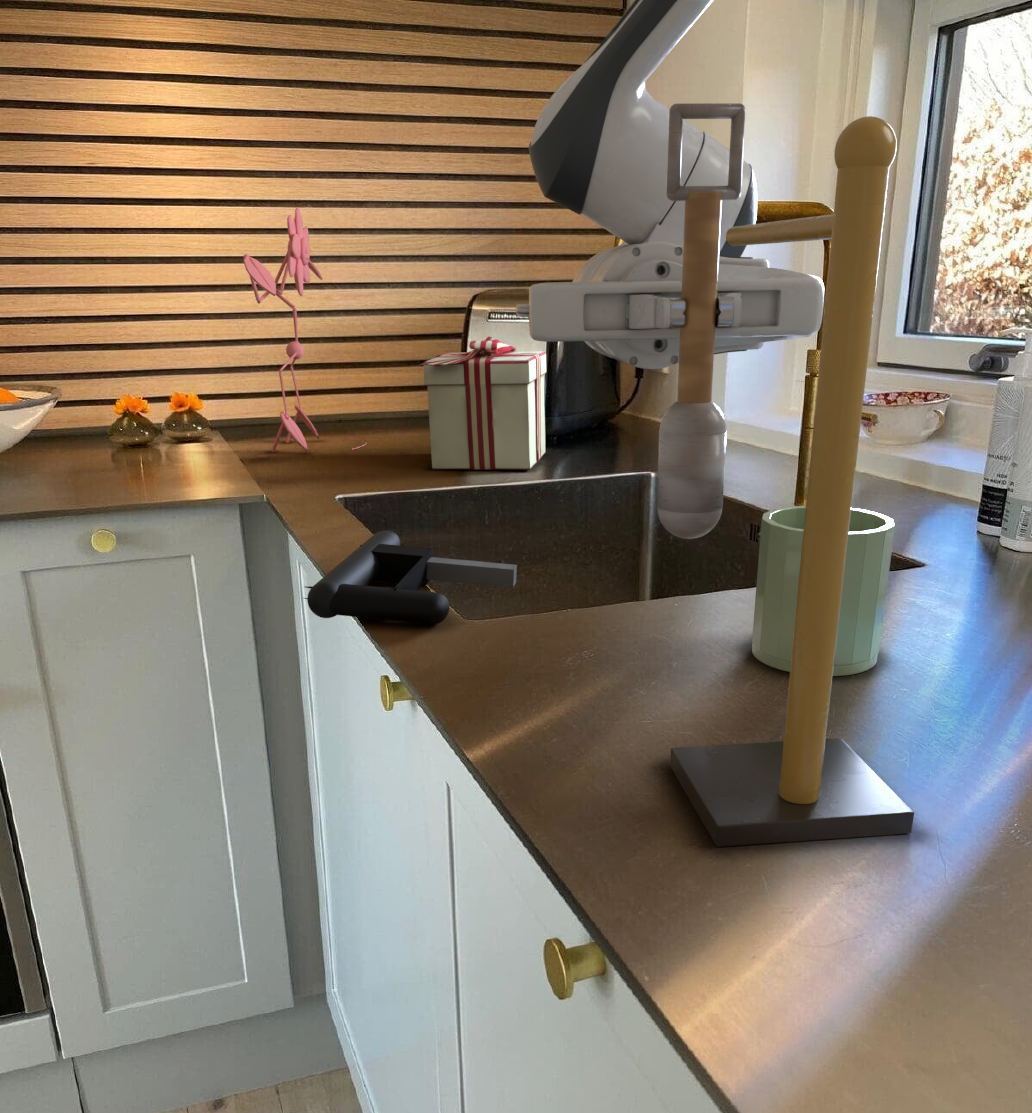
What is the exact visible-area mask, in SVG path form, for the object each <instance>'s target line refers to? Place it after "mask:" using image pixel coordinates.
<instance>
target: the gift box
mask: <svg viewBox="0 0 1032 1113" xmlns="http://www.w3.org/2000/svg"><path fill="white" fill-rule="evenodd" d="M469 349H470V350H469V351H467V352H446V353H443V354H438V355H435V357H433V358H431V359H429V360H426V361H424V362H422V363H421V364H419V366H420V367H423V383H424V385H425V386H426V387H427V401H428V402H427V404H428V422H429V435H430V436H429V437H430V438H429V439H430V440H429V441H430V453H431V454H430V456H431V469H432V470H480V471H481V470H483V471H484V470H485V471H487V470H489V471H490V470H491V471H492V470H512V471H515V470H516V471H522V470H526V471H529V470H531V469H532V468H533V467H534V466H535V465H536V464H538V463H539V461H540V460H541V458H542V457H543V456H544V455H545V454H546V453H547V452H546V411H545V374H547V371H548V370H547V353H546V351H544V350H531V351H530V350H527V351H526V350H525V351H516V347H514V346H512V345H510V344H508V343H505V342H503V341H501V340H499V339H497V338H495V337H492V336H487V337H486V338H485V339H484V340H483V339H482V340H472V341H470V342H469Z"/></svg>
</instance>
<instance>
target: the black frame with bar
mask: <svg viewBox="0 0 1032 1113" xmlns="http://www.w3.org/2000/svg"><path fill="white" fill-rule="evenodd" d="M517 572H518V564H511V563H499V562H490V561H478V560H467V559H458V558H457V559H456V558H446V557H435V556H434V549H433V548H432V547H422V546H421V547H420V546H410V545H409V546H408V545H402V544H401V539H400V537H399V536H398V535H397V533H396V532H394V531H392V530H389V529H388V530H387V529H386V530H381V531H378V532H376V533H373V534H372V536H370V537H369V538H368V539H367V540H365V541H364V542H363V543H362V544H359V546H358V547H357V548H356V549H355V550H354V551H353V552H351V553H350V554H349V555H348V556H347V557H346V558H344V559H343V560H342V561H341V562H340V563H338V564H337V565H336V566H335V567H333V569H332V570H330V571H329V572H327V573H326V575H324V576H323V577H322V578H321V579H320V580H318V581H317V582H316V583H315V584H314V585H312V586H311V585H310V586H305V588H306V589H309V591H308V593H307V597H303V599H305V600H307V601H306V602H307V605H308V608H309V609H310V611H311V612H312V614H314V615H315V616H316V617H319V618H322V619H331V618H332V619H333V618H334V617H336V616H344V617H353V618H364V619H373V620H384V621H394V622H404V623H415V624H423V625H424V624H425V625H437V624H441V622H443V621H444V620H445V619H446V618H447V617H448V614H449V612H450V602H449V600H448V598H447V597H446V596H445V595H444V594H443V593H440V592H434V591H426V590H425V591H423V590H420V589H421V588H422V587H423V588H424V587H427V585H428V584H429V583H430V582H431V581H439V582H449V583H460V584H471V585H481V586H492V587H504V588H514V587H515V586H516V583H517ZM371 583H383V584H394V585H395V586H394V587H393V588H392V587H383V586H381V587H380V586H372V585H371V586H370V584H371Z"/></svg>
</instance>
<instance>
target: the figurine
mask: <svg viewBox="0 0 1032 1113" xmlns="http://www.w3.org/2000/svg"><path fill="white" fill-rule="evenodd" d="M302 216H303V215H302V212H301V209H300V208H299V207H298V206H296V207H295V210H294V217H293V215H291V214H289V215H288V216H287V218H286V220H287V221H286V222H287V223H286V225H287V226H286V227H287V234H288V239H289V241H288V243H287V251H286V254H285V256H284V258H283V260H282V263H281V265H280V268H279V270H278V271H277V272H278V273H277V275H276V277H275V278H274V277H273V275H272V273H271V272H270V271H269V269H268V268H267V267H265V266H264V265H263V264H262V263H261V262H260V261H259V260H258V259H256V258H255V257H252V256H250V255H249V254H248V253H245V254H243V257H242V258H243V264H244V268H245V271H246V272H247V274H248V275H249V278H250V282H251V287H252V290H253V294H254V298H255V300H256V303H257V304H258V305H260V304H261V303H262V302H263V301H265V299H266V298H267V297H268V296H269V295H272V296H273V297H277V298H279V300H281V301H282V302H283V303H284V304H286V305H287V306H288V307H289V308H291V310H292V318H293V329H294V339H295V340H294V341H291V342H289V343H288V344H287V346H286V348H285V352H286V355H287V357H289V358H288V359H287V361H286V362H285V363H284V364H283V365H282V367H280V369H279V370H278V375H279V382H280V388H281V394H282V400H283V407H284V411H280V413H279V417H280V419H281V424H280V427H279V429H278V432H277V434H276V437H275V439H274V442H273V444H272V447H271V449H270V451H271V452H275V451H276V448H277V446H278V444H279V441H280V438H281V436H282V433H283V431H284V428H285V429H286V431H287V435H286V438H285V441H284V442H285V443H287V444H289V442H290V440H291V438H292V439H293V440H294V441H295V443H297V444H298V445H299V446H300V447H301V449H303V450H304V451H305V452H308V450H309V449H308V445H307V442H306V438H305V436H304V434H303V432H302V430H301V429H300V428H299V426H298V425H297V422H298V420H299V417H300V419H301V420H302V421H303V423H304V424H305V425H306V426H307V428H308V429H309V431H310V432H311V433H312V434H313V435H314V436H315V437H316V438H317V440H320V438H321V436H320V435H319V433H318V431H317V429H316V427H315V426H314V424H313V422H312V421H311V420H310V419H309V417H308V415H306V413H305V412H304V409H303V408H302V404H301V399H300V395H299V389H298V384H297V381H296V376H295V371H294V364H295V362H296V361H297V360H300V359H301V358H302V357H303V356H304V351H305V349H304V346H303V345H302V343H300V342H299V337H298V336H299V335H298V334H299V333H298V314H297V312H298V311H297V308H296V305H294V303H292V302H291V301H289V300H288V299H286V298H285V297H284V296H283V292H284V288H285V285H286V281H287V277H288V275H289V277H290V278H294V284H295V288H296V290H297V293H298V295H299V296H300V297H303V294H304V283H305V284H310V281H311V273H310V272H313V273H314V275H315V276H316V277H317V278H318V279H319V280H320V281H323V277H322V275H321V273H320V271H319V270H318V268H317V267H316V265H315V264H314V263H313V262H312V261H311V259H310V257H311V255H310V254H311V248H310V247H311V246H310V243H309V241H310V235H309V234H310V233H309V228H308V226H307V225H305V226H304V223H303V217H302ZM283 271H284V272H283ZM282 273H283V275H282ZM281 276H282V279H281V283H280V287H279V289H278V288H277V286H278V282H279V281H280V278H281ZM257 285H258V286H259V287H260V288H261V289H263V290H264V291H265V292H264V293H262V295H261V296H260V294H259V291H258V286H257ZM288 365H289V368H290V372H291V376H292V380H293V386H294V389H295V394H296V398H297V403H298V404H294V409H295V410H296V413H295V416H294V418H292V417H291V416H290V415H289V413H288V406H287V399H286V392H285V387H284V385H285V384H284V380H283V379H284V378H283V373H282V372H283V371H284V369H285V368H286V367H287V366H288ZM347 437H353V438H357V439H361V440H364V441H365V443H364V444H362V445H360V446H356V447H354V448H353V447H352V450H357V449H359V448H362V447H364V446H366V445H367V443H368V441H367V437H360V436H356V435H349V434H347ZM255 456H257V457H267V456H268V455H267V454H256V455H255Z"/></svg>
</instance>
